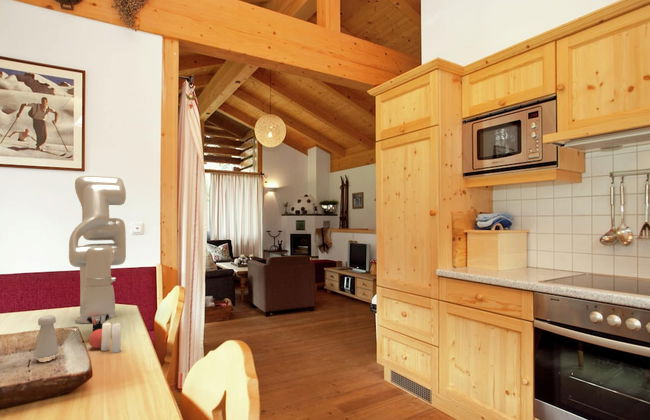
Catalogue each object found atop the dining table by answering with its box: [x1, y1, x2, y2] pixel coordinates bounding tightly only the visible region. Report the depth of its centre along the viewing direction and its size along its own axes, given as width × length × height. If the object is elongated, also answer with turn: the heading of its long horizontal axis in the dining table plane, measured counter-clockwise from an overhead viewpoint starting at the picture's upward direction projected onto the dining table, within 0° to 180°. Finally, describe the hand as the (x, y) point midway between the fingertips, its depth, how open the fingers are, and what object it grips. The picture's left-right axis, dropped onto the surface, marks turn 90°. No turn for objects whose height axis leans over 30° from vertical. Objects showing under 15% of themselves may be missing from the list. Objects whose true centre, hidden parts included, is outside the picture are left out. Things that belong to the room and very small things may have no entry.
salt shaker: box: [34, 314, 59, 358], centre depth 112 cm, size 6×6×13 cm
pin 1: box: [100, 321, 112, 352], centre depth 120 cm, size 2×2×9 cm
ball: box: [88, 329, 102, 349], centre depth 123 cm, size 6×6×6 cm
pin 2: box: [111, 322, 122, 354], centre depth 119 cm, size 2×2×9 cm
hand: (97, 335), depth 131 cm, fingers closed
